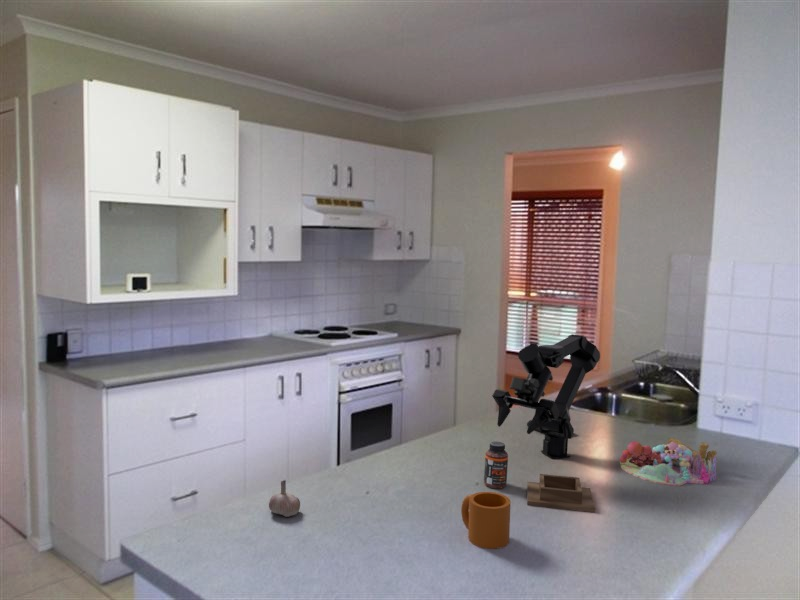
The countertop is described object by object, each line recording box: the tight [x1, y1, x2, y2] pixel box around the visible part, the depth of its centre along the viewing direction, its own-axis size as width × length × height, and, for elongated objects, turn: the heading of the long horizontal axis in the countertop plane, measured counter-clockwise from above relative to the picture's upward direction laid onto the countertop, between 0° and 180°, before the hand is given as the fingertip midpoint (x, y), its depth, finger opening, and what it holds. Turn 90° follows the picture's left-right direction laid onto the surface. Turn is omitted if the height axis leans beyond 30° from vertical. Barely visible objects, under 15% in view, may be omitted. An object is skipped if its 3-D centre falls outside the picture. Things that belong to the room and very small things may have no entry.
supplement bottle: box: [483, 440, 509, 489], centre depth 170 cm, size 6×6×11 cm
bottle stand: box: [526, 473, 596, 513], centre depth 163 cm, size 13×16×4 cm
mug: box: [460, 491, 512, 550], centre depth 140 cm, size 9×12×9 cm
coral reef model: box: [619, 437, 718, 487], centre depth 185 cm, size 25×24×9 cm
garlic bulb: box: [268, 479, 301, 518], centre depth 149 cm, size 8×7×8 cm
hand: (512, 429), depth 175 cm, fingers open, 9 cm apart
